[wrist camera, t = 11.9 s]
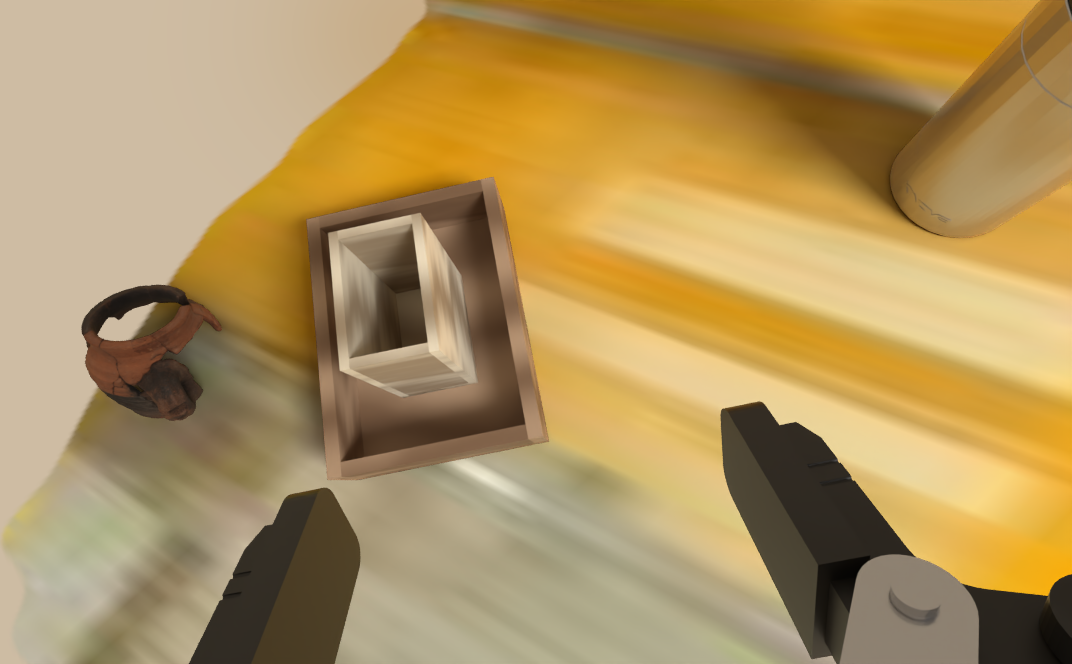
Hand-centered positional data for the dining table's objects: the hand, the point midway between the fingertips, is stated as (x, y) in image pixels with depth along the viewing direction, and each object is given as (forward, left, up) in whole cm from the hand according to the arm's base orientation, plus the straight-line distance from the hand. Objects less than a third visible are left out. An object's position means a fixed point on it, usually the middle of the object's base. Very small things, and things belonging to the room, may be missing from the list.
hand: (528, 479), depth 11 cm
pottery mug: (+21, -27, -31) cm, 46 cm away
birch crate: (+3, -16, -30) cm, 34 cm away
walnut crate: (+3, -16, -31) cm, 34 cm away
